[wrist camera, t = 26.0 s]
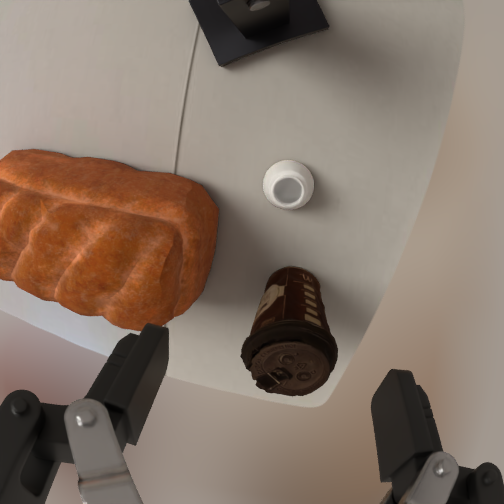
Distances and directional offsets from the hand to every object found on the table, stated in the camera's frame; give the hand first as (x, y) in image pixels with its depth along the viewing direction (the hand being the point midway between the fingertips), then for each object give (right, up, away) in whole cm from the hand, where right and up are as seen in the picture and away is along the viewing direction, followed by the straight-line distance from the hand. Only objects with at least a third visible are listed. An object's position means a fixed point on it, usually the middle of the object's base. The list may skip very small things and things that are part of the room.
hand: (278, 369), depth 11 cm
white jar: (+3, +11, +22) cm, 24 cm away
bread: (-20, +8, +26) cm, 34 cm away
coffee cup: (+4, 0, +27) cm, 27 cm away
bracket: (0, +27, +14) cm, 30 cm away
